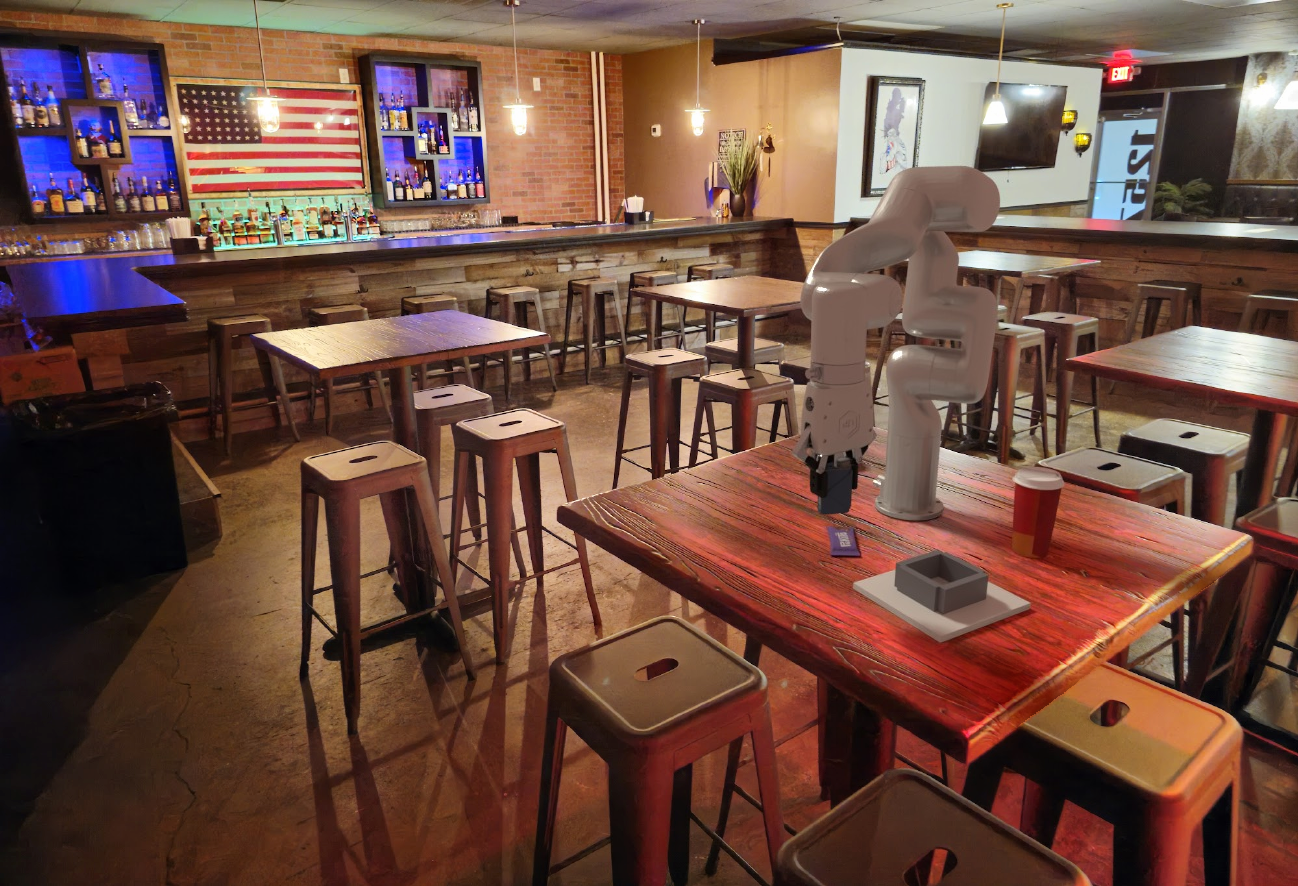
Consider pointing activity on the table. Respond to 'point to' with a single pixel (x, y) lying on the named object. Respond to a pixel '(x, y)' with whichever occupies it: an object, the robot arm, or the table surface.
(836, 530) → the snack package
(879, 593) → the dock
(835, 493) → the vaping device
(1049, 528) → the paper cup
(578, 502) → the table surface
